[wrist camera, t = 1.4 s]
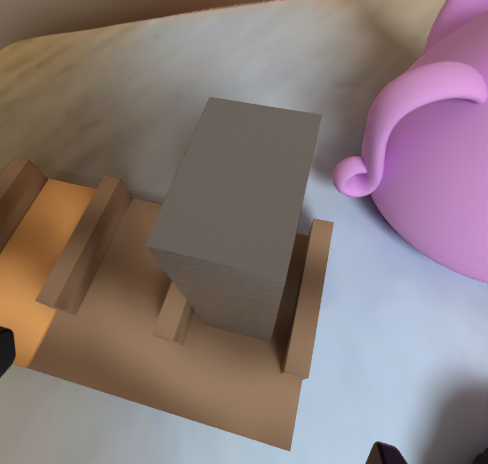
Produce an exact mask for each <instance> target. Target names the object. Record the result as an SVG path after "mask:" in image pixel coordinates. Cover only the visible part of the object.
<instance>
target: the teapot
mask: <svg viewBox="0 0 488 464" xmlns="http://www.w3.org/2000/svg"><path fill="white" fill-rule="evenodd" d="M333 184H334V186H335V187H336V189H337V190H338V191H339V192H340V193H342V194H344V195H347V196H350V197H362V196H366V195H368V194H371V196H372V198H373V200H374V202H375V204H376V205H377V207H378V209H379V210H380V212H381V213H382V215H383V216H384V218H385V219H386V220H387V221H388V222H389V224H390V225H391V226H392V227H393V228H394V229H395V230H396V231H397V232H398V233H399V234H400V235H401V236H402V237H403V238H404V239H405V240H406V241H407V242H408V243H409V244H411V245H412V246H413V247H415V248H416V249H417V250H418V251H420V252H421V253H423V254H424V255H426V256H427V257H429V258H430V259H432V260H433V261H435V262H437V263H439V264H441V265H443V266H444V267H446V268H448V269H450V270H452V271H454V272H457V273H460V274H462V275H465V276H467V277H470V278H472V279H476V280H479V281H483V282H487V283H488V0H446V2H445V4H444V5H443V7H442V8H441V10H440V12H439V14H438V16H437V18H436V20H435V22H434V23H433V26H432V28H431V31H430V33H429V36H428V39H427V43H426V47H425V52H424V55H422V56H421V57H420V58H419V59H418V60H417V61H416V62H414V63H413V64H412V65H411V66H410V67H409V68H408V69H407V70H406V71H405V72H404V73H403V74H402V75H400V76H398V77H397V78H396V79H394V80H393V81H391V82H390V83H389V84H388V85H386V86H385V87H384V88H383V89H382V90H381V92H380V93H379V94H378V96H377V97H376V98H375V100H374V102H373V103H372V106H371V108H370V110H369V113H368V116H367V120H366V126H365V133H364V138H363V142H362V157H361V156H351V157H348V158H345V159H343V160H342V161H340V162H339V163H338V164H337V165H336V167H335V169H334V171H333Z"/></svg>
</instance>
